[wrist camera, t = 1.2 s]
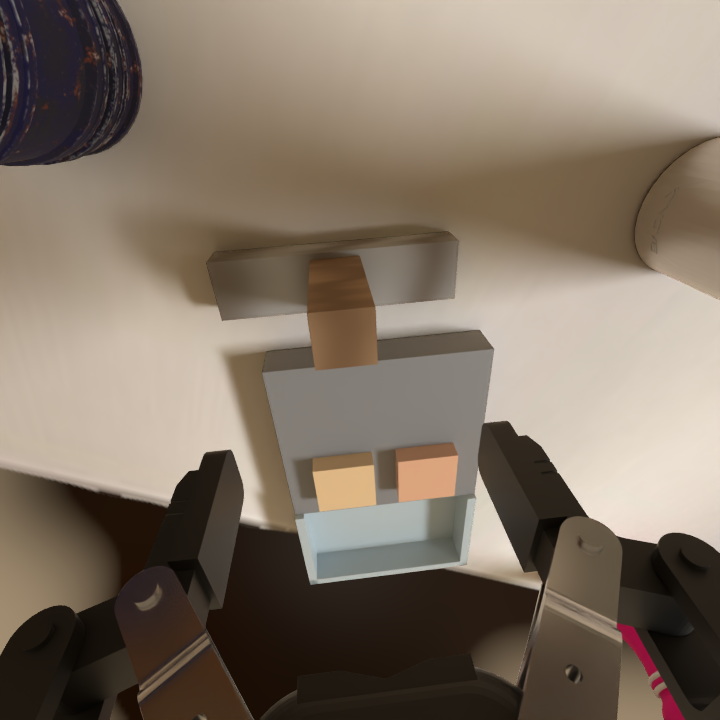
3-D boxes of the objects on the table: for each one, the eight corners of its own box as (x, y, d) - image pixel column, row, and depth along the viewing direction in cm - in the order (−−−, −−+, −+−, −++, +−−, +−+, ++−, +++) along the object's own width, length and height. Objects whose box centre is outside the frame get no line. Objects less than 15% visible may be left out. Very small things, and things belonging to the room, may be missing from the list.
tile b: (371, 451, 33) (373, 465, 32) (374, 491, 36) (376, 505, 35) (312, 458, 33) (312, 472, 32) (319, 497, 36) (319, 511, 35)
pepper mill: (580, 585, 55) (698, 796, 38) (567, 561, 51) (692, 782, 34) (632, 565, 53) (780, 776, 36) (623, 539, 50) (781, 760, 33)
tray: (464, 469, 40) (476, 498, 37) (457, 535, 46) (466, 564, 43) (296, 489, 39) (295, 519, 36) (310, 553, 45) (310, 584, 42)
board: (479, 330, 32) (494, 348, 29) (464, 469, 40) (474, 493, 38) (266, 351, 31) (261, 372, 28) (296, 489, 39) (295, 514, 37)
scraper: (447, 230, 27) (510, 285, 19) (444, 285, 30) (499, 358, 21) (215, 251, 27) (163, 318, 18) (229, 305, 29) (189, 390, 20)
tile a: (453, 442, 34) (458, 455, 32) (449, 482, 36) (454, 495, 35) (395, 449, 33) (398, 462, 32) (395, 488, 36) (398, 502, 35)
